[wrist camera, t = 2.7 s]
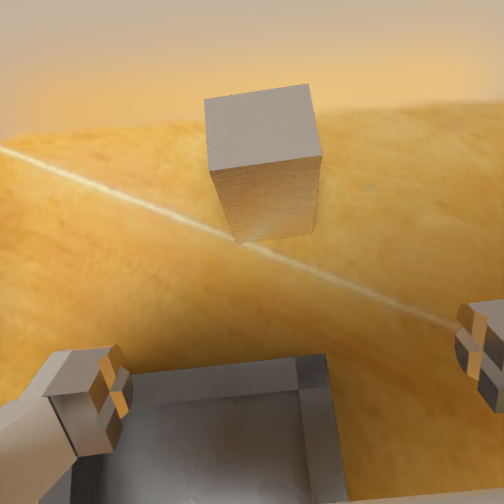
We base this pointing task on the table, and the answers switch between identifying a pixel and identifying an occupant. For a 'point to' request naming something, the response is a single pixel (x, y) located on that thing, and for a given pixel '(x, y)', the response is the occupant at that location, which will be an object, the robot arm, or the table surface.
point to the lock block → (265, 161)
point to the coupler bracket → (219, 440)
